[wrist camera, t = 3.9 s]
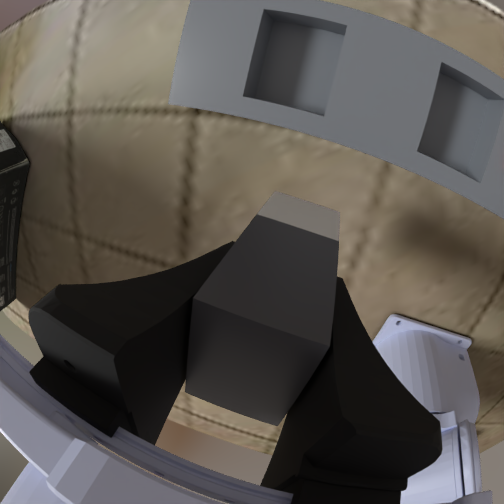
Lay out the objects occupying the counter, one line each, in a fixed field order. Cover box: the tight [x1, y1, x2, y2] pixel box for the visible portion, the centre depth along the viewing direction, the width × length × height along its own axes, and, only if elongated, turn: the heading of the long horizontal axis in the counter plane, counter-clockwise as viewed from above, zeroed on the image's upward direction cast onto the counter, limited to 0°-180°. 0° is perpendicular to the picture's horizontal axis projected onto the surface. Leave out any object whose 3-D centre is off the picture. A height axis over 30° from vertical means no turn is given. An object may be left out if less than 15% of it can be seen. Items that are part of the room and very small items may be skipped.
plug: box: [185, 191, 340, 426], centre depth 10 cm, size 3×4×8 cm
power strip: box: [168, 0, 504, 219], centre depth 13 cm, size 24×8×4 cm, turn 78°
